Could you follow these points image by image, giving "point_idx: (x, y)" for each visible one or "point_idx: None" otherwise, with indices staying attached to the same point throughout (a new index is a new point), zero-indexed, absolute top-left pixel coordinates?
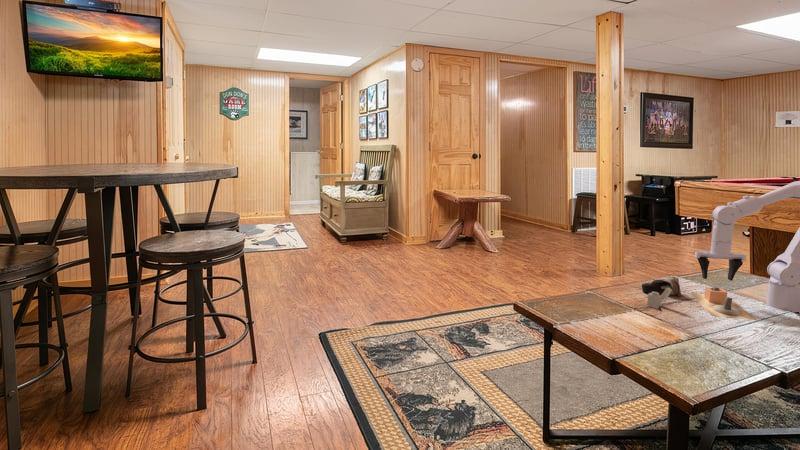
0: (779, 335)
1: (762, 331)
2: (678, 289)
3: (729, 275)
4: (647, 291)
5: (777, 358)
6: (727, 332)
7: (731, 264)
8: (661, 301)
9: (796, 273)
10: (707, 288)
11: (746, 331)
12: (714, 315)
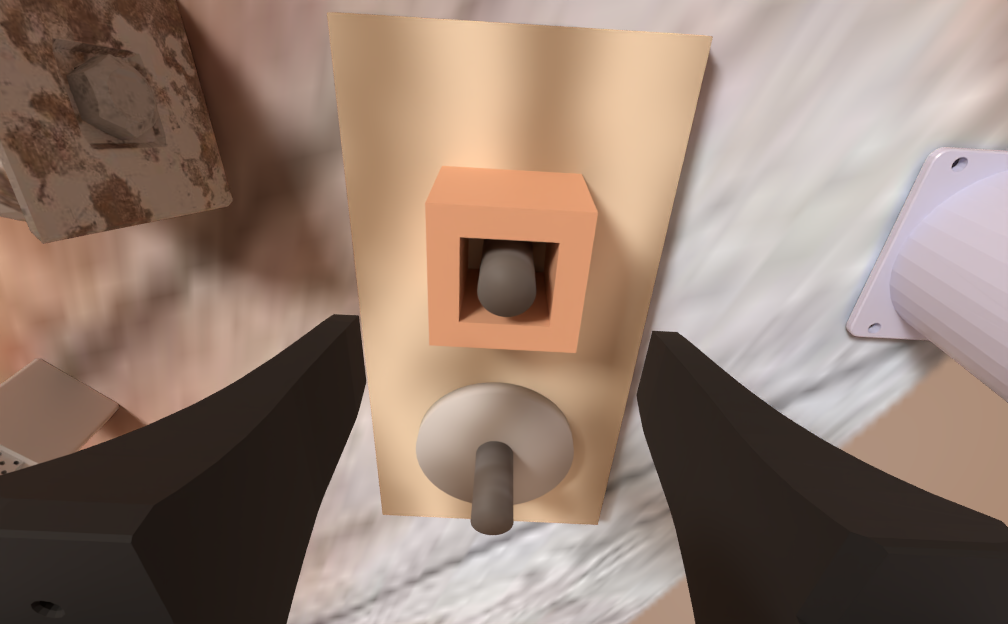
0: (604, 599)
1: (558, 579)
2: (167, 179)
3: (661, 403)
4: None
5: None
6: (404, 604)
7: (734, 578)
8: (79, 447)
9: None
10: (428, 264)
11: (488, 588)
12: (395, 507)
